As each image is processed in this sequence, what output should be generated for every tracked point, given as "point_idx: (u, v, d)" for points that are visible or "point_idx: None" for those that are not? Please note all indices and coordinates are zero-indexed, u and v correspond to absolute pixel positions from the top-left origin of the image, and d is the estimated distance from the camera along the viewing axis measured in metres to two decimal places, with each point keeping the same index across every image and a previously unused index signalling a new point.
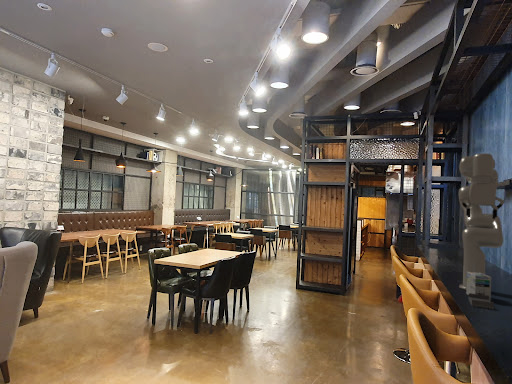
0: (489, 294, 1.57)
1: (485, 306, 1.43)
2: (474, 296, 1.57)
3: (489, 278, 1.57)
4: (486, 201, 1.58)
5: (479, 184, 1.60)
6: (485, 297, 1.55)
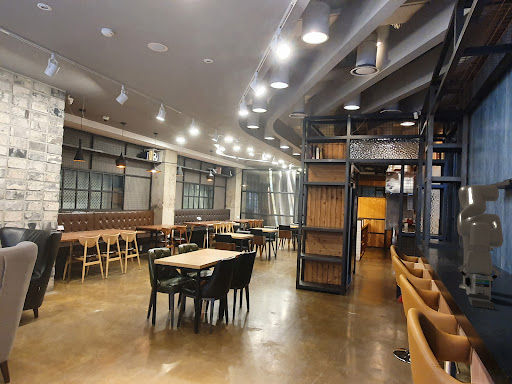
0: (489, 294, 1.57)
1: (485, 306, 1.43)
2: (474, 296, 1.57)
3: (489, 278, 1.57)
4: (483, 271, 1.60)
5: (476, 253, 1.62)
6: (485, 297, 1.55)
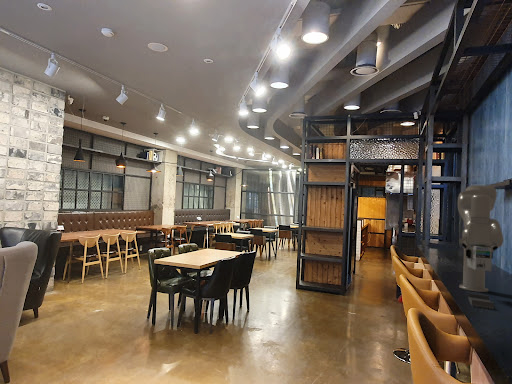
0: (490, 265, 1.58)
1: (485, 306, 1.43)
2: (474, 296, 1.57)
3: (490, 249, 1.58)
4: (484, 242, 1.61)
5: (477, 225, 1.63)
6: (485, 297, 1.55)
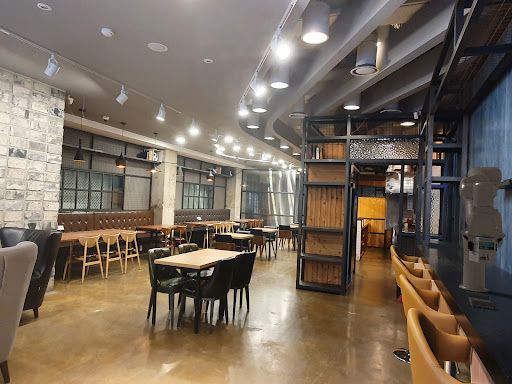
0: (494, 257, 1.46)
1: (485, 306, 1.43)
2: (474, 296, 1.57)
3: (494, 240, 1.46)
4: (487, 233, 1.49)
5: (480, 215, 1.50)
6: (485, 297, 1.55)
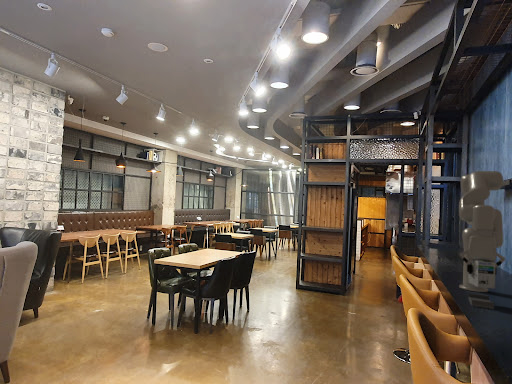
0: (493, 281, 1.45)
1: (485, 306, 1.43)
2: (474, 296, 1.57)
3: (493, 264, 1.45)
4: (486, 257, 1.48)
5: (479, 238, 1.50)
6: (485, 297, 1.55)
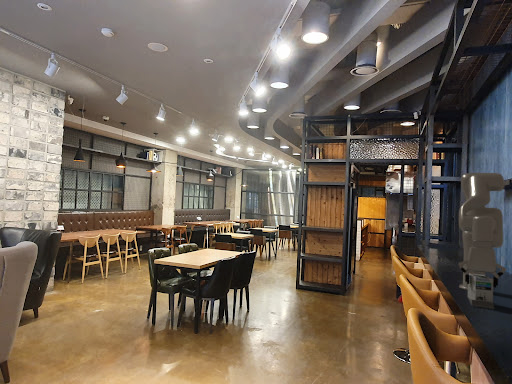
0: (491, 298, 1.45)
1: (485, 306, 1.43)
2: None
3: (491, 280, 1.45)
4: (486, 268, 1.48)
5: (479, 249, 1.49)
6: None
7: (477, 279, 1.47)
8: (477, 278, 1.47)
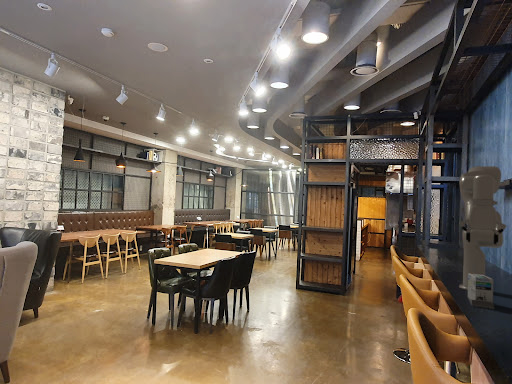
0: (491, 298, 1.45)
1: (485, 306, 1.43)
2: None
3: (491, 280, 1.45)
4: (487, 226, 1.51)
5: (479, 208, 1.52)
6: None
7: (477, 279, 1.47)
8: (477, 278, 1.47)
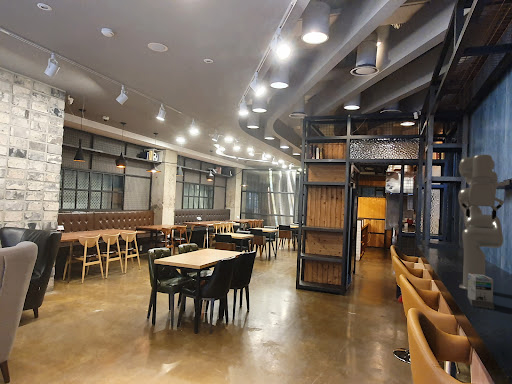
0: (491, 298, 1.45)
1: (485, 306, 1.43)
2: None
3: (491, 280, 1.45)
4: (485, 202, 1.60)
5: (479, 185, 1.61)
6: None
7: (477, 279, 1.47)
8: (477, 278, 1.47)
